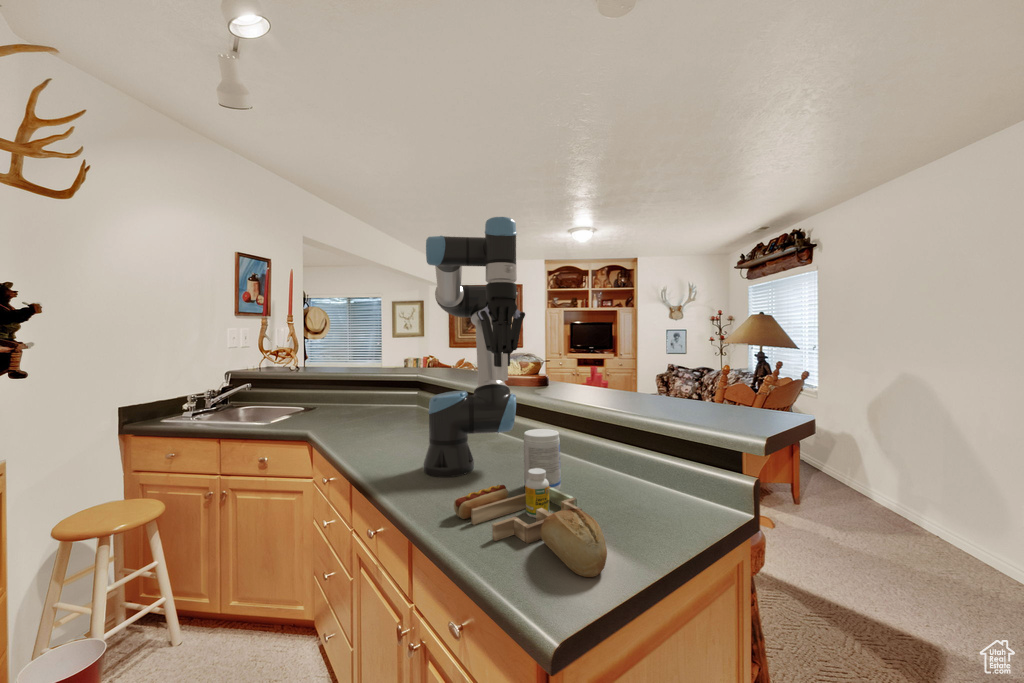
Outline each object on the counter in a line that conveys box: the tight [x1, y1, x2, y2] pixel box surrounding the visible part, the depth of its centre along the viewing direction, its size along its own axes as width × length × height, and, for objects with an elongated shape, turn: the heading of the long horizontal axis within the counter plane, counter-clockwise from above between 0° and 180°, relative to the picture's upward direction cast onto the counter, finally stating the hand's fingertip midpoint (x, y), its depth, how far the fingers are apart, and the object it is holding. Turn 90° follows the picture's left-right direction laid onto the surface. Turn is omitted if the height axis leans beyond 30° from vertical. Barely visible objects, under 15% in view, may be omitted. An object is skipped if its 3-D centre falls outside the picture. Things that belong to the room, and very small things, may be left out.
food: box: [453, 484, 509, 520], centre depth 91 cm, size 14×6×5 cm, turn 131°
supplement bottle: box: [524, 468, 550, 519], centre depth 89 cm, size 5×5×10 cm
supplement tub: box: [523, 428, 562, 491], centre depth 104 cm, size 10×10×15 cm
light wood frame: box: [470, 486, 583, 545], centre depth 85 cm, size 14×22×3 cm, turn 125°
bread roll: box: [540, 508, 608, 578], centre depth 71 cm, size 10×15×8 cm, turn 28°
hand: (502, 380), depth 96 cm, fingers closed
